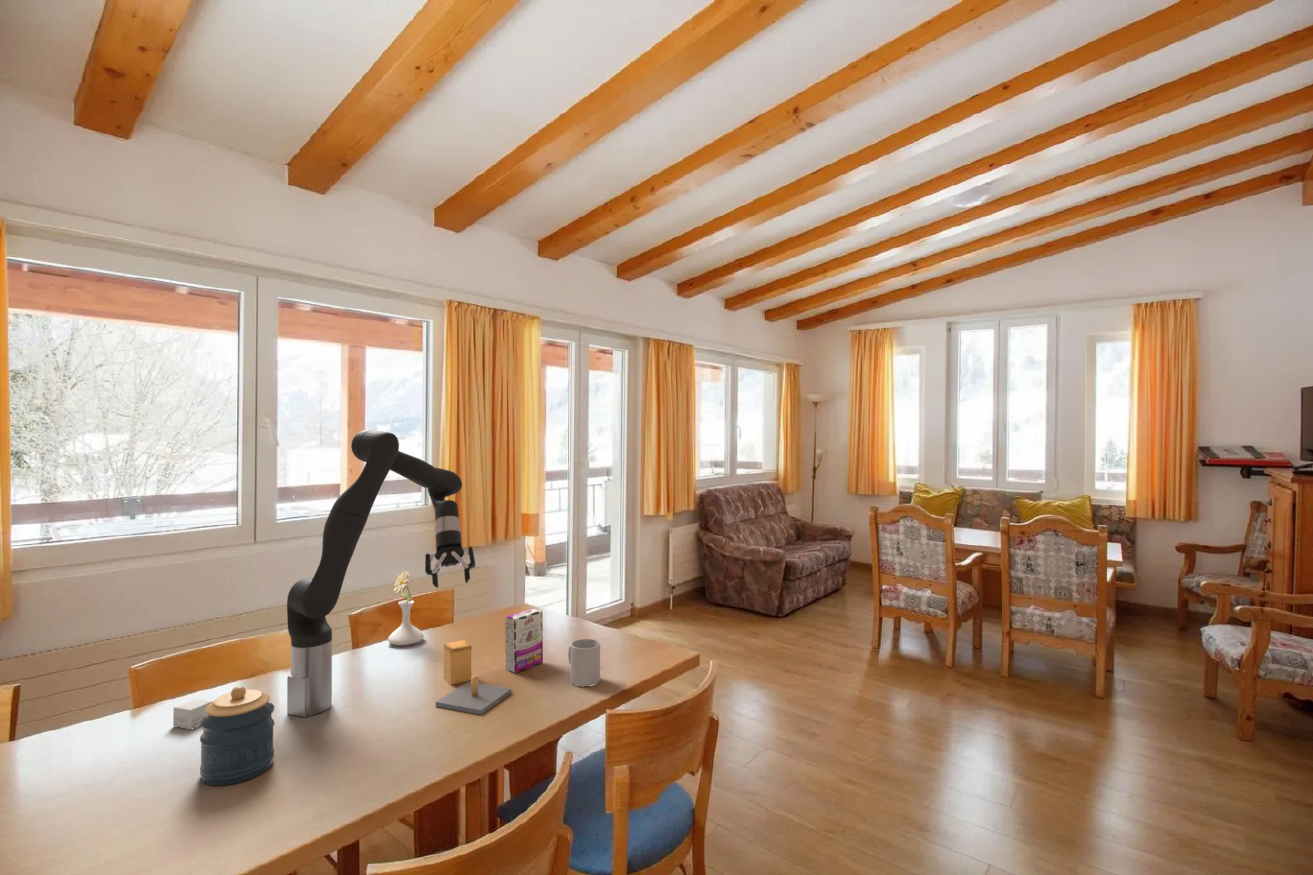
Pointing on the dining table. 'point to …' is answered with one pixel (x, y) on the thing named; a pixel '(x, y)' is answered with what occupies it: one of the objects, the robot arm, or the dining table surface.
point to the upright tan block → (457, 661)
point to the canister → (236, 737)
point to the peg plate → (474, 697)
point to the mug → (584, 662)
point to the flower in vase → (405, 616)
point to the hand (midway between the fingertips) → (451, 584)
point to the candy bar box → (523, 640)
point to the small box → (190, 713)
